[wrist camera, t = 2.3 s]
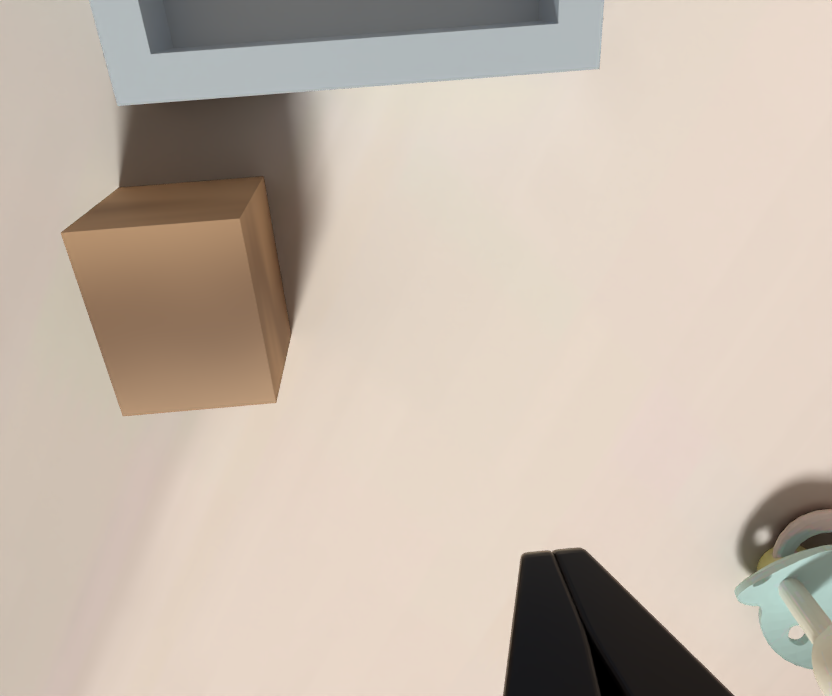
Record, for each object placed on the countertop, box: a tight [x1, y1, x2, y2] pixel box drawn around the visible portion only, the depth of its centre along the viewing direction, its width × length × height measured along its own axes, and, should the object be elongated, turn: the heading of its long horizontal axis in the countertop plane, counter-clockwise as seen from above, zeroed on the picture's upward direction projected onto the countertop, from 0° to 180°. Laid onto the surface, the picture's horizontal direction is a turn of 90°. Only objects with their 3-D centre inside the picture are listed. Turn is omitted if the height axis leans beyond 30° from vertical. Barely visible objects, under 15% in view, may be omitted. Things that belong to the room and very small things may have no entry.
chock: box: [61, 176, 291, 416], centre depth 18 cm, size 5×4×4 cm
